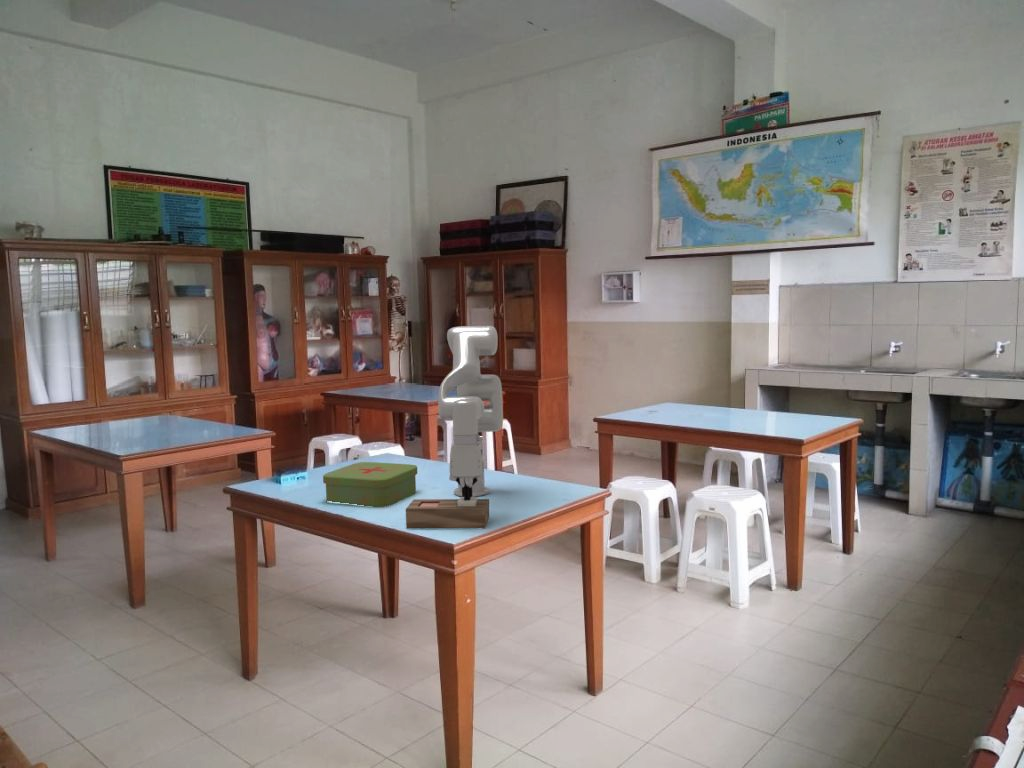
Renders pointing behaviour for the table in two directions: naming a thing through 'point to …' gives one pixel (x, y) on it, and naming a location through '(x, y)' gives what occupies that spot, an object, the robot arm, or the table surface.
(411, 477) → the first aid kit
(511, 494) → the table surface
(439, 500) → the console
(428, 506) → the key red
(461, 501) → the key ivory
